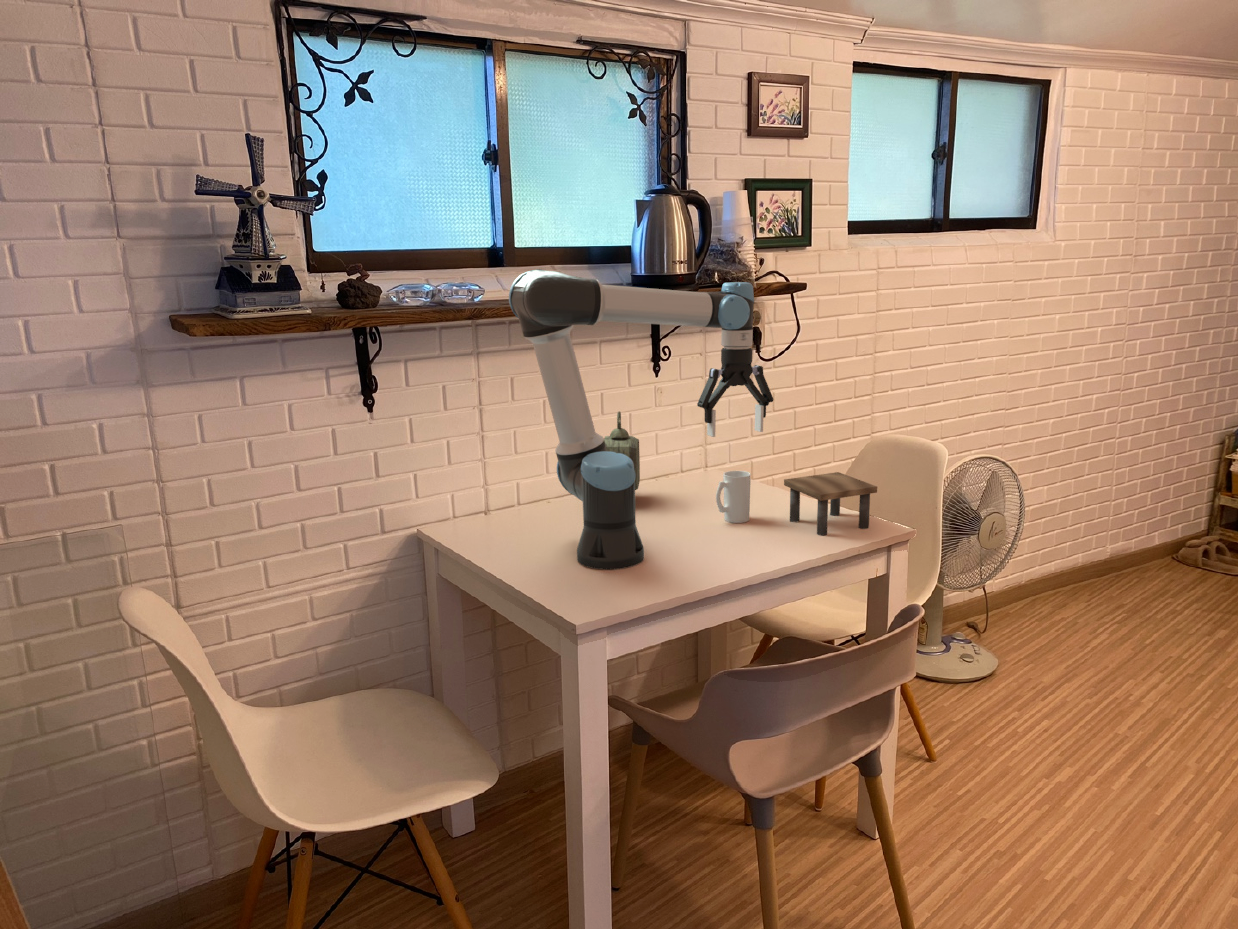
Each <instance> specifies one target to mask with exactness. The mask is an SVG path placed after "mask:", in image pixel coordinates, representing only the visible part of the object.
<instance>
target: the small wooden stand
mask: <svg viewBox="0 0 1238 929" xmlns="http://www.w3.org/2000/svg"><path fill="white" fill-rule="evenodd" d="M783 485H784V486H785V487H788V488H790V492H789V493H790V494H789V521H790V522H791V523H798V522H800V515H801V506H800V505H801V494H804V495H806V496H807V497H810V498H812V499H816V500H817V514H816V515H817V516H816V517H817V518H816V535H817V536H820V537H821V536H827V535H828V521H829V520H828V518H829V516H828V514H829V515H830V516H834V517H836V516H837V517H838V516H840V514H841V513H840V512H841V499H844V498H849V497H856V496H859V504H858V505H859V509H858V528H859V529H862V530H863V529H864V530H865V529H866V530H867V529H869V528H870V505H871V494H876V493H878V486H877V485H875V484H871V483H869V482H866V481H863V480H861V479H858V478H855V477H852V476H849V475H848V474H845V473H841V472H839V471H838V472H837V471H835V472H828V473H822V474H821V473H820V474H815V475H808V476H807V475H806V476H800V477H791V478H784V479H783ZM829 500H830V504H829ZM829 508H830V510H828V509H829ZM829 511H830V512H829Z"/></svg>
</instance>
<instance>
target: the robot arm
mask: <svg viewBox="0 0 1238 929" xmlns="http://www.w3.org/2000/svg"><path fill="white" fill-rule="evenodd" d="M508 303H509V308H510V309H511V311H512V313H513V314H514V315H515V317H516V318H517V319H518V322H519V325H520V329H521V331H522V332H521V333H522V336H523V338H524V339H525V340H527V341H529V342H531V344H532V346H533V349H534V353H535V357H536V361H537V363H538V364H537V365H538V367H539V372H540V375H541V379H542V381H543V387H544V389H545V393H546V397H547V401H548V404H549V408H550V411H551V415H552V419H553V423H554V426H555V430H556V433H557V437H558V440H559V442H558V445H557V446H556V447H555V454H556V458H557V464H556V475H557V478H558V481H559V482H560V484H561V486H562V487H563V488H564V489H565V491H566V492H568V493H569V494H570V495H573V496H574V497H576V498H577V499H578V500H579V501H581V502H582V514H583V515H582V517H583V528H582V531H581V534H580V538H579V542H578V545H577V547H576V548H577V549H576V561H577V562H578V563H579V564H580V565H581V566H584V567H586V568H590V569H596V570H621V569H626V568H627V569H628V568H631V567H634V566H636V565H639V564H640V563H642V562H643V561H644V559H645V547H644V545H643V542H642V539H641V536H640V534H639V531H638V528H637V521H636V490H635V471H634V464H633V461H632V460H631V459H630V458H629V457H628V456H626V455H624V454H621V453H616V452H609V451H607V449H606V445H605V441H604V438H605V437H604V436H603V435H601V434H599V433H597V432H596V430H595V429H596V428H595V425H594V422H593V417H592V415H591V410H590V408H589V406H590V405H589V402H588V399H587V395H586V391H585V388H584V383H583V380H582V375H581V372H580V367H579V364H578V361H577V356H576V352H575V349H574V344H573V341H572V337H571V331H572V330H573V328H574V327H575V326H579V325H580V326H595V325H596V324H598V323H599V322H614V323H615V322H616V323H628V324H629V323H632V324H633V323H634V324H647V325H648V324H651V325H664V326H665V325H666V326H667V325H668V326H685V327H701V328H714V329H715V328H716V329H721V336H720V338H721V339H720V345H721V346H722V348H721V349H720V350H721V351H720V360H721V361H720V362H721V367H720V369H718V368H714V367H713V368H712V367H711V368H710V369H709V373H708V379H707V381H706V383H705V384H704V388H703V389H702V391H701V394H700V396H699V399H698V402H697V403H696V404H697V407H699V408H701V409H703V410H704V423H706V424H707V426H706V431H707V432H706V435H707V436H709V437H711V438H714V437H716V422H717V421H716V419H717V418H716V417H717V416H716V413H717V412H716V409H714V407H715V406H716V405H717V403H718V402H719V401H720V399H721V398H722V397H723V395H724V394H725V393H726V391H727V390H728V389H729V388H730V387H736V386H745V388H746V389H747V391H748V392H749V393H750V394H751V395H752V398H754V399H755V401H756V402H757V403H756V404H754V405H755V406H754V431H756V432H759V433H763V432H764V419H765V418H766V416H767V407H768V406H769V405H770V403H773V402H774V397H773V395H772V392H771V389H770V387H769V384H768V382H767V380H766V377H765V375H764V367H763V366H762V365H757V364H755V365H754V366H752V364H753V348H752V347H751V346H753V338H754V336H753V333H754V332H753V330H754V304H755V295H754V286H753V284H752V283H751V282H744V281H738V282H737V281H735V282H730V281H729V282H724V283H723V284H722V286H721V290H719V291H689V290H675V289H673V290H672V289H663V288H660V289H659V288H649V287H648V288H647V287H637V286H625V285H624V286H622V285H612V284H611V285H610V284H602V283H601V282H600V281H599V279H597V278H596V279H594V278H585V277H580V276H575V275H572V274H568V273H564V272H560V271H555V270H546V269H540V268H539V269H533V270H532V269H531V270H529V271H526V272H524V273H521V274H519V275H518V276H517V277H516V278H515V279H514V281H513V282H512V284H511V286H510V288H509V292H508ZM752 374H753V375H754V378H755V380H756V383H757V385H758V387H757V386H756V385H755V383H754V380H752V378H751V375H752ZM720 377H721V380H718V379H719V378H720ZM717 384H718V385H717ZM716 385H717V386H716ZM715 387H716V388H715ZM758 388H759V389H758Z"/></svg>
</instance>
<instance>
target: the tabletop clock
mask: <svg viewBox="0 0 1238 929" xmlns="http://www.w3.org/2000/svg"><path fill="white" fill-rule="evenodd" d="M629 434H630V433H628V431H627V430H626V429H625V428H623V427H622V414H621V411H617V414H616V428H614V429H612V431H610V434H609V435H606V436H604V437H603V438H604V441H605V445H606V449H607V451H609V452H616V453H621V454H624V455H626V456H628V457H629V458H630V459H631V460H632V461H633V464H634V471H635V491H637V490H638V489H639V486H640V482H641V481H640V480H641V478H640V477H641V467H640V465H641V464H640V462H641V461H640V460H641V459H640V458H641V457H640V440H639V438H637V437H635V436H633V435H629Z"/></svg>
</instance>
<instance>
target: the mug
mask: <svg viewBox="0 0 1238 929" xmlns="http://www.w3.org/2000/svg"><path fill="white" fill-rule="evenodd" d="M717 485H718V486H717V488H716V492H715V493H716V494H715V500H716V501H715V502H716V505H717V508H718V511H719V512H720V513H723V515H724V516H723V518H724V520H725V522H728V523H731V524H744V523H746V522H748V521H750V510H751V509H750V508H751V473H750V472H749V471H745V470H728V471H724V472H723V481H722V480H721V481H719V482H718V484H717ZM722 491H723V504H722V501H721V494H722V493H721V492H722Z"/></svg>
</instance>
